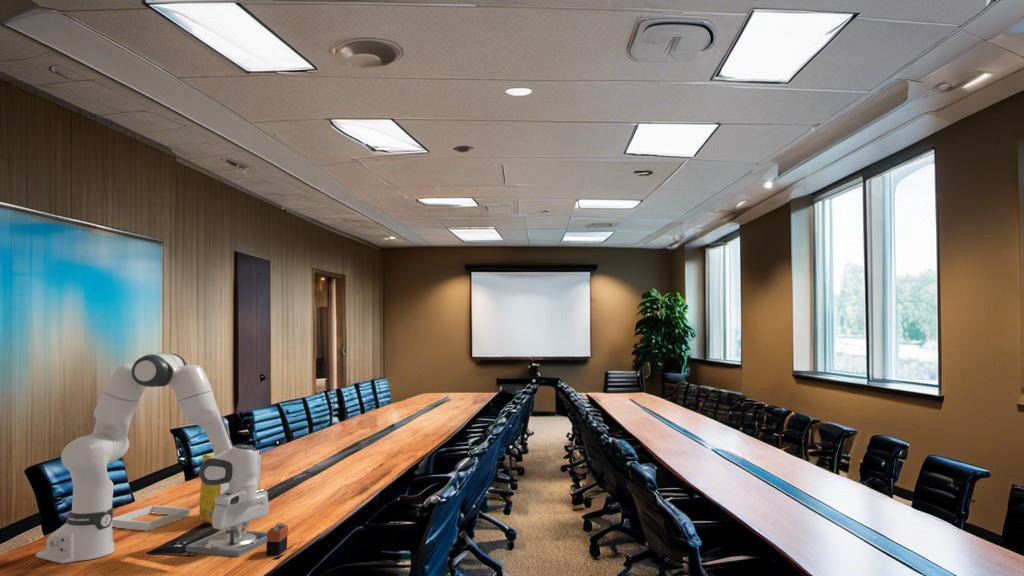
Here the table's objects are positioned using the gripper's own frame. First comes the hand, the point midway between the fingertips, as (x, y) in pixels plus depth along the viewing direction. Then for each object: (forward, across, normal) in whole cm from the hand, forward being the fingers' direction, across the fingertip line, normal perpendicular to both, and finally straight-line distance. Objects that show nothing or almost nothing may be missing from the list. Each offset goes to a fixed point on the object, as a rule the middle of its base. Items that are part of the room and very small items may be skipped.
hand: (240, 536), depth 203 cm
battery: (+6, -3, +14) cm, 15 cm away
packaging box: (+5, -26, -37) cm, 46 cm away
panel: (+5, -1, -6) cm, 8 cm away
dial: (+4, -1, -6) cm, 7 cm away
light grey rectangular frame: (+5, -8, -60) cm, 60 cm away
